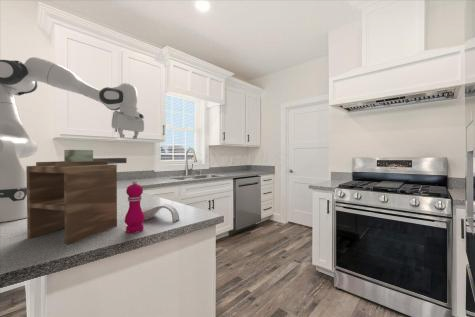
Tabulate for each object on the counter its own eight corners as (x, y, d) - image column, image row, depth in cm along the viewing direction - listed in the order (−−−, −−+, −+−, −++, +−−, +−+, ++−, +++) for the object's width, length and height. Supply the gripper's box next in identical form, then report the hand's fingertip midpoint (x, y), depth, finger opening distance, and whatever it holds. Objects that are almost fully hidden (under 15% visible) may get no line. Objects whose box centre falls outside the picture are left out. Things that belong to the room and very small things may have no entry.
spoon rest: (125, 220, 100) (125, 204, 100) (142, 213, 111) (142, 199, 111) (170, 225, 93) (170, 208, 93) (183, 217, 105) (183, 202, 105)
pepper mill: (125, 234, 81) (125, 182, 81) (124, 229, 88) (123, 180, 87) (146, 231, 85) (145, 180, 85) (143, 226, 91) (143, 178, 91)
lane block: (64, 165, 83) (64, 149, 83) (119, 162, 109) (119, 150, 108) (76, 165, 81) (75, 149, 81) (129, 162, 107) (129, 150, 107)
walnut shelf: (27, 237, 78) (26, 161, 77) (81, 221, 97) (80, 160, 97) (68, 244, 72) (67, 162, 72) (117, 225, 91) (116, 161, 91)
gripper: (118, 109, 110) (118, 136, 110) (145, 116, 129) (145, 139, 129) (108, 110, 111) (108, 137, 112) (137, 116, 131) (137, 139, 131)
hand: (128, 138), depth 121 cm, fingers open, 8 cm apart
